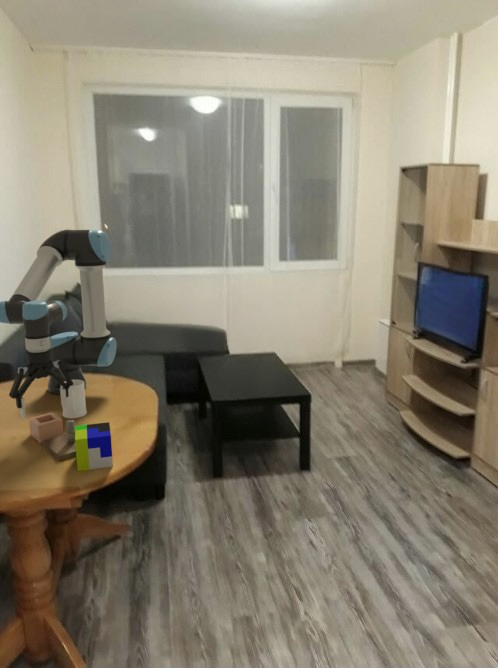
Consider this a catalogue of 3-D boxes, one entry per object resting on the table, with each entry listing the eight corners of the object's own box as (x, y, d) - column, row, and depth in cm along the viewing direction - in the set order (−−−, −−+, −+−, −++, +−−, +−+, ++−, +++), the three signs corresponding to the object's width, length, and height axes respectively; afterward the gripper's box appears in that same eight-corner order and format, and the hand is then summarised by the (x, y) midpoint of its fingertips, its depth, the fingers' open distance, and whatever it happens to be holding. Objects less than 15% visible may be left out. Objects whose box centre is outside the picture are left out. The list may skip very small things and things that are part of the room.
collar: (54, 428, 189) (52, 412, 187) (63, 435, 183) (62, 419, 181) (30, 434, 183) (28, 418, 182) (39, 442, 178) (38, 425, 176)
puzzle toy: (112, 466, 163) (110, 435, 160) (77, 471, 160) (75, 439, 158) (111, 451, 172) (109, 422, 170) (77, 455, 169) (75, 425, 167)
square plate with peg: (83, 432, 185) (81, 409, 183) (102, 446, 175) (100, 422, 173) (42, 445, 176) (39, 420, 174) (60, 460, 166) (57, 434, 164)
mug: (84, 421, 194) (82, 389, 191) (59, 423, 193) (56, 391, 190) (88, 408, 206) (85, 378, 203) (64, 410, 204) (61, 379, 201)
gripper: (2, 359, 165) (9, 424, 170) (80, 345, 181) (84, 405, 186) (-6, 353, 170) (1, 417, 175) (71, 341, 186) (75, 399, 191)
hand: (44, 411), depth 181 cm, fingers open, 13 cm apart
